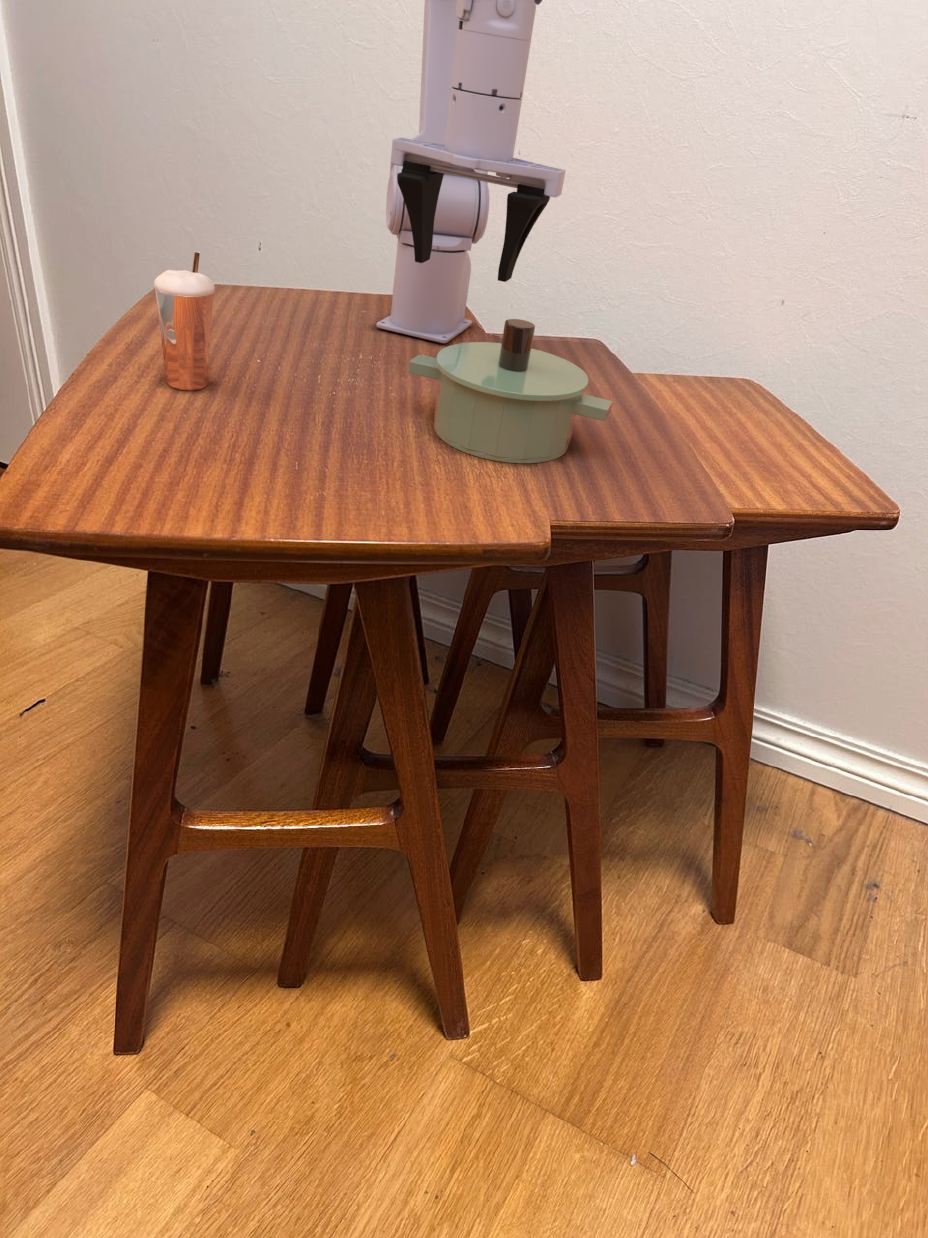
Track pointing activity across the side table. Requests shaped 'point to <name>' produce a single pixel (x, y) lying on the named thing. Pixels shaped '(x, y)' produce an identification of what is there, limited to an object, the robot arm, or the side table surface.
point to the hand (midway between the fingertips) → (462, 269)
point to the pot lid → (512, 367)
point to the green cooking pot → (504, 420)
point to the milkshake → (185, 325)
